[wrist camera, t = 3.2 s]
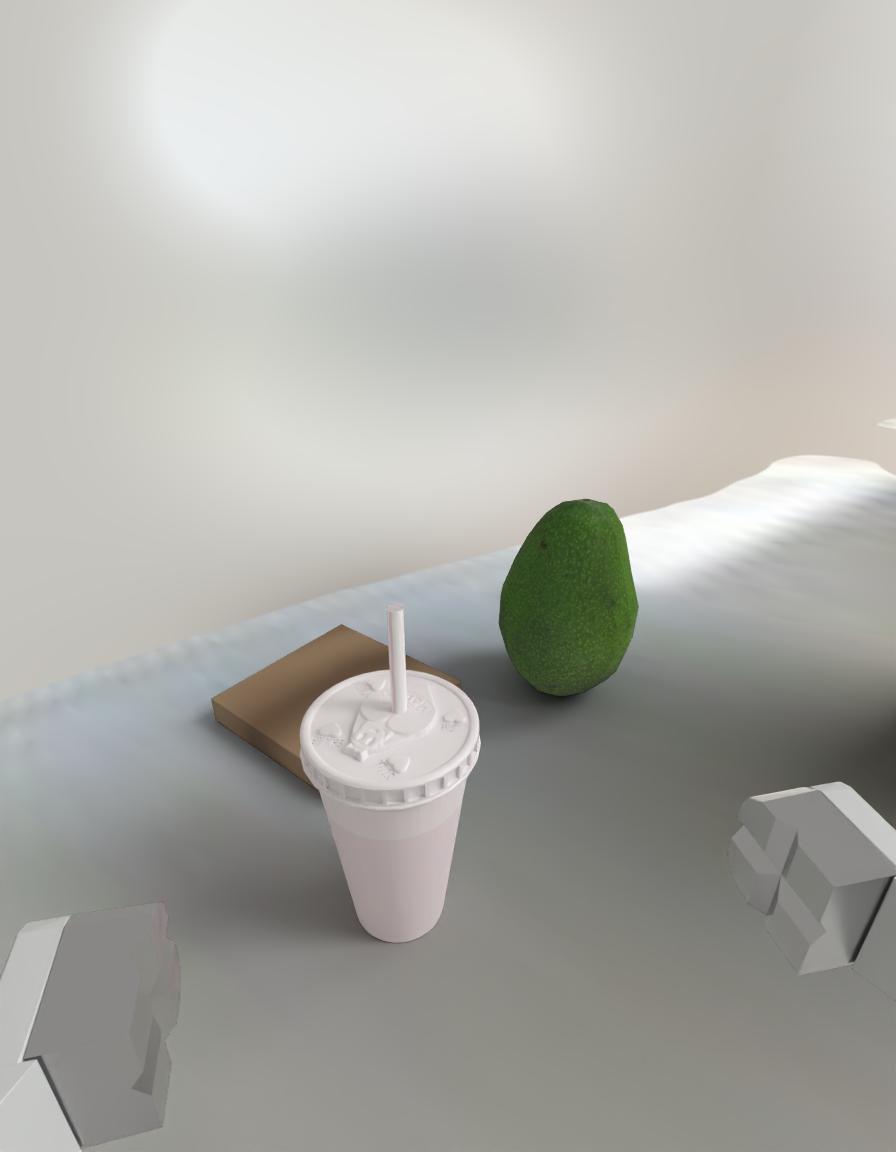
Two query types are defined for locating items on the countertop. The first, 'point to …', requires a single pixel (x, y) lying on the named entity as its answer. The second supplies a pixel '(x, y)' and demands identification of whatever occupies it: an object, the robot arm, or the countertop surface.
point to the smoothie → (393, 785)
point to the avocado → (570, 599)
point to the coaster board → (301, 691)
